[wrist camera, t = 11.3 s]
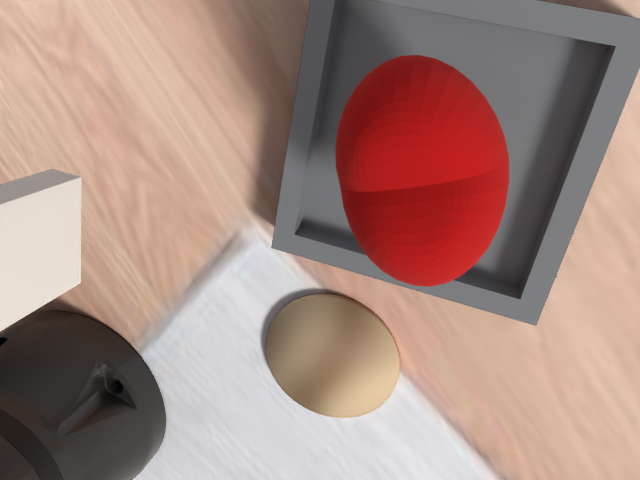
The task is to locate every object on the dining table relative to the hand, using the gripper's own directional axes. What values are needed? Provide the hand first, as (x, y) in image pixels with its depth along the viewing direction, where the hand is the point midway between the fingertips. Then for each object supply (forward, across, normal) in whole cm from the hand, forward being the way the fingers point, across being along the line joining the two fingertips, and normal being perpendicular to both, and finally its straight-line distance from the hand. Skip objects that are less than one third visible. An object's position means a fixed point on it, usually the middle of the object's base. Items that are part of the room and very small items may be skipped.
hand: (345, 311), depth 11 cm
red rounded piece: (+19, 0, 0) cm, 19 cm away
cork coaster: (+20, -2, -15) cm, 25 cm away
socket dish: (+19, 0, 0) cm, 19 cm away
